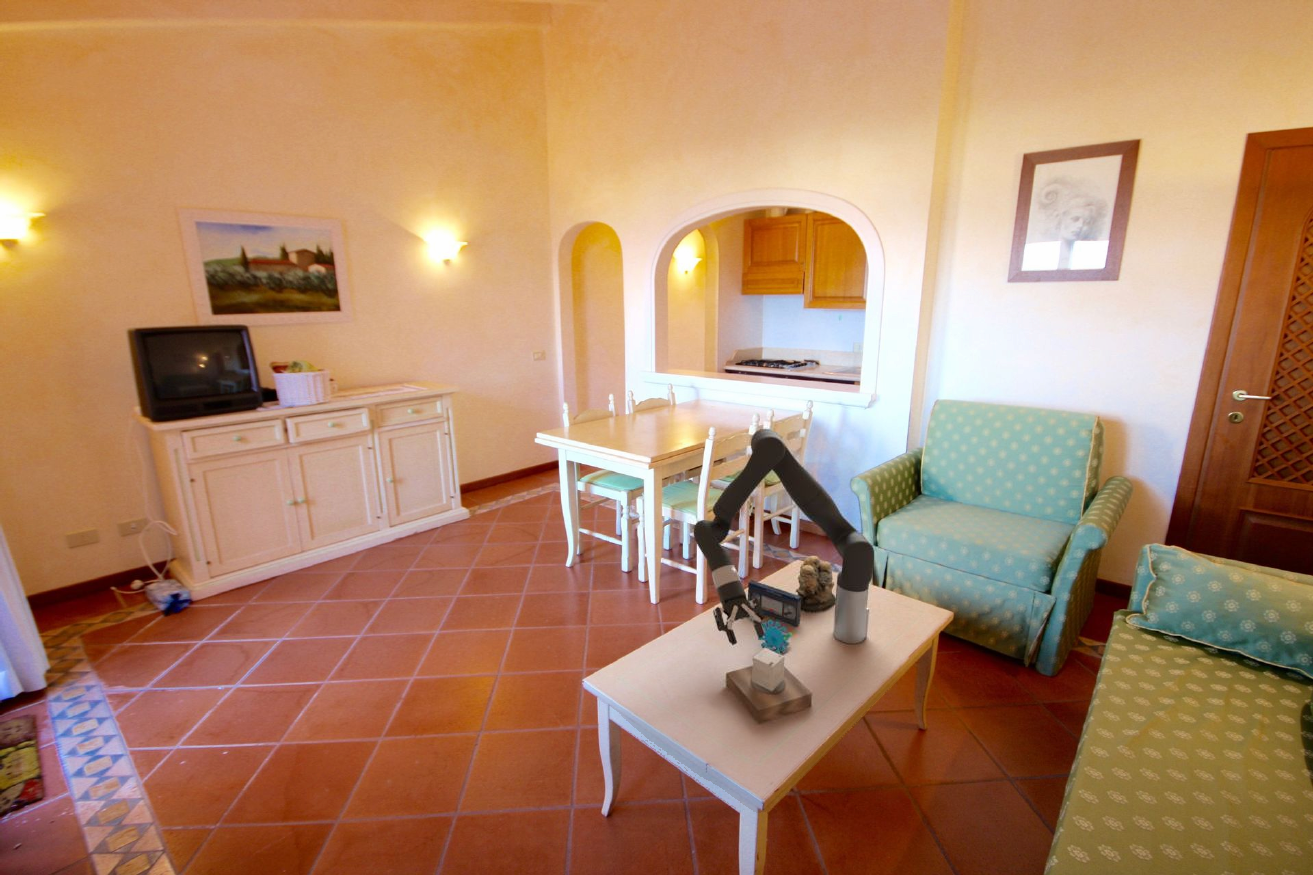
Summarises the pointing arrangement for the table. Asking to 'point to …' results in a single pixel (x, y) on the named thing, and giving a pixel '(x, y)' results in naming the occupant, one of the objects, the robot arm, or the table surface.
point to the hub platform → (768, 695)
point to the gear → (775, 637)
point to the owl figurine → (815, 585)
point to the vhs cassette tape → (776, 602)
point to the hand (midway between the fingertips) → (748, 640)
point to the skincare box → (768, 669)
